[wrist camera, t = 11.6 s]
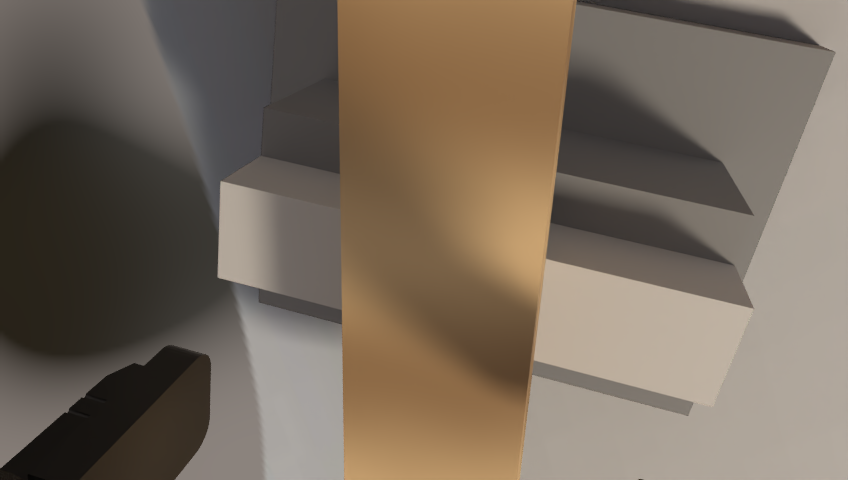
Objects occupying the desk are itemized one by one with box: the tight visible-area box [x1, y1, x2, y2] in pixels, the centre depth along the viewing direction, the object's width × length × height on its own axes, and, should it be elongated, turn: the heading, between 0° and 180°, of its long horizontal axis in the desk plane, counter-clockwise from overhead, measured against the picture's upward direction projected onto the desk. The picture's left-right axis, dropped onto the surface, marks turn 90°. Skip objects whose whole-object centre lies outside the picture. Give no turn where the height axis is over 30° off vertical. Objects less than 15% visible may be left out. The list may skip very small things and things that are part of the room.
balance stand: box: [218, 0, 835, 416], centre depth 22 cm, size 14×18×9 cm
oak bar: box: [337, 0, 577, 480], centre depth 16 cm, size 24×4×4 cm, turn 178°
